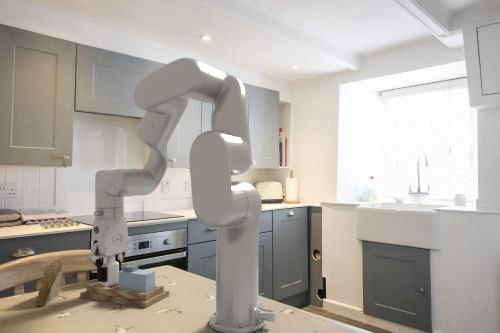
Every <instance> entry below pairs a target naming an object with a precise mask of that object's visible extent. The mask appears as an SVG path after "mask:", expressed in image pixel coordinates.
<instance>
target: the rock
mask: <svg viewBox="0 0 500 333" xmlns="http://www.w3.org/2000/svg"><path fill="white" fill-rule="evenodd" d="M64 267H65V263H64V262H62V261H61V260H57V261H56V260H55V261H54V262H52V263H51V264H50V265H48V266H47V267H46V268H45V269H44V270H43V278H42V281H41V282H42V283H41V286H40V287H39V290H38V295H37V298H36V300H35V303H34V306H36V307H43V306H46V305H47V304H48V303H49V302H51V301H52V300H54V299H55V298H56V297H57V296H58V295H59V294H60V288H61V283H62V282H61V281H62V277H63V273H64Z"/></svg>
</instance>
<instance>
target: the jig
mask: <svg viewBox="0 0 500 333" xmlns="http://www.w3.org/2000/svg"><path fill="white" fill-rule="evenodd" d="M169 296H170V290H165V289H164V285H158V284H155V289H153V290H151V291H149V292H146V293H142V292H135V291H128V290H122V289H118V284H117V285H113V286H109V287H105V286H102V285H100V282H99V281H97V282H93V283H90V284H88V285H86V290H83V291H81V292H80V294H79V297H80V298H84V299H90V300H96V301H102V302H108V303H114V304H120V305H125V306H126V305H127V306H134V307H139V308H144V309H147V308H149V307H150V306H153V305H154V304H156V303H158V302H160V301H162V300H164V299H165V298H168V297H169Z"/></svg>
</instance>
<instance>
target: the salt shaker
mask: <svg viewBox="0 0 500 333" xmlns="http://www.w3.org/2000/svg"><path fill="white" fill-rule="evenodd" d="M115 257H116V255H112V256H109V257H107V262H106V267H107V268H108V281H107V282H100V285H102V286H105V287H109V286H113V285H117V284H118V272H119V263H118V262H117V261H115Z"/></svg>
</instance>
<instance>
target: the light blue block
mask: <svg viewBox="0 0 500 333" xmlns="http://www.w3.org/2000/svg"><path fill="white" fill-rule="evenodd" d="M155 285H156V270H150V269H149V270H148V269H140V268H139V265H136V264H127V265H124V266H123V269H121V271H119V272H118V289H122V290H128V291H135V292H142V293H146V292H149V291H151V290H153V289H155Z"/></svg>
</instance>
